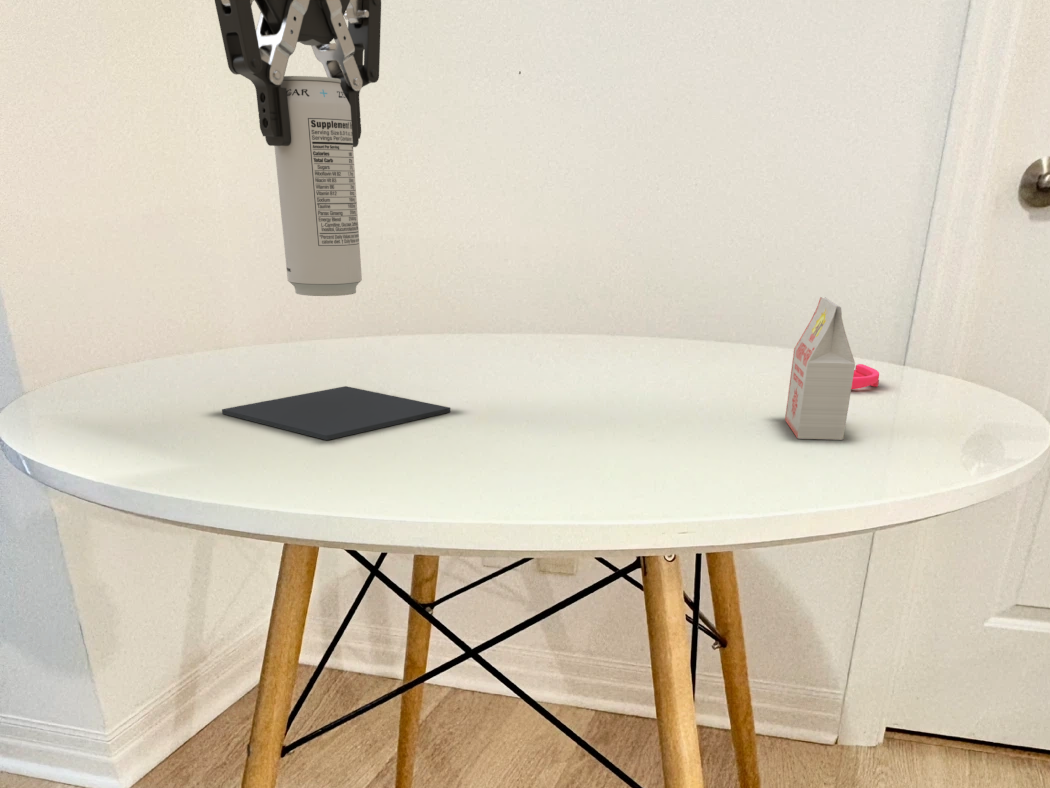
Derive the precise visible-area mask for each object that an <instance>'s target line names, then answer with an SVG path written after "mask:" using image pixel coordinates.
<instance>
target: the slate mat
mask: <svg viewBox="0 0 1050 788" xmlns="http://www.w3.org/2000/svg"><path fill="white" fill-rule="evenodd" d="M448 413H451V407H448V406H445V405H439V404H434V403H429V402H425V401H419V400H414V399H410V398H406V397H400V396H396V395H390V394H387V393H386V394H385V393H381V392H377V391H376V392H375V391H371V390H366V389H361V388H356V387H351V386H346V385H345V386H339V387H334V388H329V389H324V390H318V391H313V392H307V393H302V394H297V395H291V396H286V397H280V398H275V399H270V400H264V401H259V402H254V403H248V404H242V405H237V406H231V407H227V408H222V409H221V414H222V415H226V416H229V417H233V418H237V419H240V420H246V421H249V422H253V423H258V424H260V425H261V424H262V425H266V426H269V427H273V428H275V429H276V428H277V429H281V430H285V431H289V432H293V433H296V434H300V435H304V436H307V437H312V438H316V439H319V440H320V439H321V440H324V441H331V440H334V439H340V438H344V437H349V436H353V435H357V434H361V433H365V432H371V431H373V430H378V429H384V428H387V427H392V426H395V425H400V424H404V423H410V422H414V421H418V420H422V419H426V418H431V417H435V416H439V415H444V414H448Z"/></svg>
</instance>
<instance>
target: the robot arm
mask: <svg viewBox="0 0 1050 788" xmlns="http://www.w3.org/2000/svg"><path fill="white" fill-rule="evenodd" d="M253 2H255V3H256V6H257V7H258V9H259V11H260V13H259V16H258V21H257V24H256V25H255V19H254V14H253V9H252V5H253ZM214 5H215V9H216V14H217V20H218V24H219V28H220V29H219V30H220V33H221V38H222V43H223V47H224V53H225V57H226V63H227V66H228V69H229V70H230V72H231V73H232V74H233V75H241V76H242V77H244V78H245V79H247V80H249V81H250V82H251V83H252V84H253V86H254V88H255V94H256V103H257V112H258V120H259V121H258V123H259V130H260V133H261V134H262V137H264V138H265V142H266V144H267V145H268V146H269V147H271V146H272V147H274V146H289V145H290V143H291V133H290V122H289V111H288V100H287V90H286V88H281V84H282V82H283V79H284V76H286V75H285V74H286V71H287V68H288V67H287V66H288V63H289V59H290V57H291V56H292V55H293V54H294V53H295V50H296V48H297V43H300V44H302V45H304V46H311V49H312V52H313V55H314V57H315V59H316V60H317V61H318V62H320V63H321V64H322V66H323V69H324V72H325V73H326V77H330V78H338V79H341V83H340V86H341V88H342V91H343V92H344V94H345V96H346V98H347V100H348V102H349V104H350V107H351V122H352V137H353V148H357V147H358V145H359V143H360V141H359V139H361V135H362V123H361V122H362V120H361V119H362V118H361V105H360V104H361V103H360V93H361V90H362V88H364V87H365V86H368V85H369V84H373V83H377V82H378V81H379V78H380V61H381V26H382V25H381V24H382V0H214ZM346 20H347V21H346ZM333 40H334V43H333V42H332V41H333Z"/></svg>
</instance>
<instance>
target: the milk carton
mask: <svg viewBox="0 0 1050 788" xmlns="http://www.w3.org/2000/svg"><path fill="white" fill-rule="evenodd" d="M842 312H843V311H842V306H840V305H838V304H836V302H834V301H832V300H830V299H829V298H827V297H823V296H822V297H821V296H820V297H819V300H818V303H817V306H816V309H815V311H814V313H813V315H812V316H811V319H810V321H809V323H808V324H807V326H806V328H805V329H804V331H803V333H802V334H801V336H800V338H799V339H798V341H797V343H796V345H795V346H794V348H793V355H792V363H791V369H790V370H791V371H790V376H789V386H788V392H787V393H788V394H787V401H786V408H785V410H786V411H785V416H784V421H785V422H786V424H787V425H788V427H789V428H790V430H791V431H792V433H793V435H794V436H795V437H796V439H800V440H802V439H803V440H832V441H833V440H834V441H835V440H836V441H838V440H840V441H843V440H844V437H845V432H846V431H845V430H846V424H847V418H848V412H849V406H850V400H851V392H852V389H851V387H852V381H853V375H854V370H855V368H856V362H855V358H854V355H853V352H852V349H851V346H850V342H849V339H848V336H847V334H846V330H845V326H844V321H843V317H842V316H843V314H842Z"/></svg>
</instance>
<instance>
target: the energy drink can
mask: <svg viewBox="0 0 1050 788" xmlns="http://www.w3.org/2000/svg"><path fill="white" fill-rule="evenodd" d="M340 83H341V79H338V78H330V77H327V76H314V75H312V76H311V75H309V76H308V75H284V79H283V82H282V84H281V88H286V90H287V100H288V111H289V122H290V133H291V143H290V145H289V146H273V148H274V155H275V166H276V167H275V168H276V176H277V187H278V196H279V206H280V217H281V226H282V228H281V229H282V237H283V247H284V257H285V267H286V278H287V281H288V283H290V284H291V285H292V286H293V287H294V290H295V291H294V292H295V294H296V295H299V296H300V295H301V296H308V297H309V296H311V297H340V296H341V297H342V296H350V295H355V294H356V293H357V286H358V285H359V284H360V283H361V282H362V281H363V275H362V261H361V247H360V232H359V231H360V229H359V216H358V214H359V213H358V201H357V185H356V171H355V170H356V169H355V153H354V147H353V137H352V122H351V107H350V104H349V102H348V100H347V98H346V96H345V94H344V92H343V91H342V88H341V86H340Z"/></svg>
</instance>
